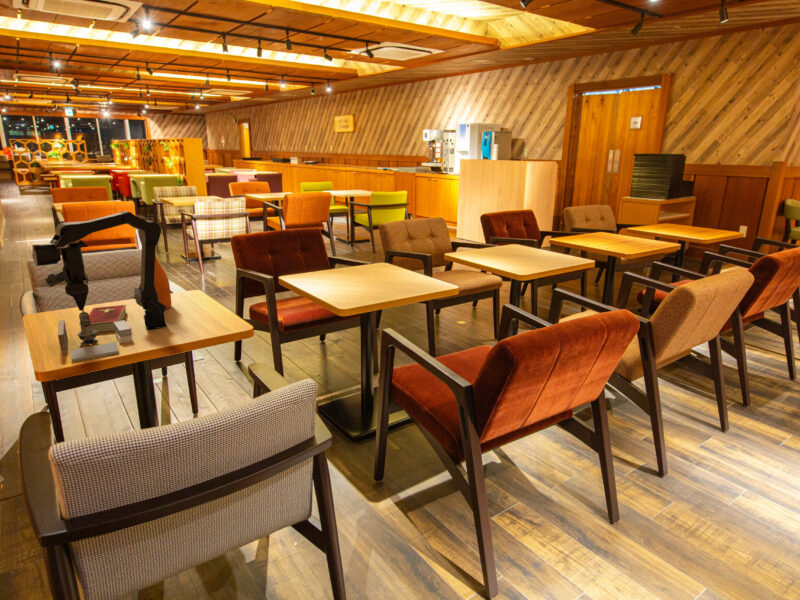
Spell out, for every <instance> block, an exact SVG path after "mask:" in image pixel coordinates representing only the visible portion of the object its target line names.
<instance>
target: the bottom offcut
mask: <svg viewBox="0 0 800 600" xmlns="http://www.w3.org/2000/svg"><path fill="white" fill-rule="evenodd" d="M115 331H116V330H115ZM116 335H117V340H118V343H119V344H124V342H125V343H129V342H133V338H132V336H133V335H129V336H124V337H120V336H119V334H118V333H117V331H116Z"/></svg>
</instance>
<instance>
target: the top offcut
mask: <svg viewBox="0 0 800 600" xmlns="http://www.w3.org/2000/svg"><path fill="white" fill-rule="evenodd" d="M113 323H114V329H115V330H114V331H117V332H116V334H117V333H118V334H119V336H120V337H124V336H129V335H131V336H133V333H132V332H133V331H132V328H131V326H130V325H129V324H128V323H127V321H126V320H125V319H124V320H123V321H118V322H113Z"/></svg>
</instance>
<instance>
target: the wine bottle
mask: <svg viewBox="0 0 800 600" xmlns="http://www.w3.org/2000/svg"><path fill="white" fill-rule="evenodd" d="M154 285H155V288H156V291H157V295H158V302H160V303H162V304H163V305H165V306H166V309H165V310H167V308H168V309H170V308H171V307H172V296H171V295H172V294H171V287H170V281H169V278H168V275H167V273H166V272H165V270H164V268H163V267H162V266H161V264H160V262H159V259H158V257H157V254H156V253H155V280H154Z"/></svg>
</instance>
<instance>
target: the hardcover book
mask: <svg viewBox="0 0 800 600" xmlns="http://www.w3.org/2000/svg"><path fill="white" fill-rule="evenodd" d="M126 307H127V304H119V305H110V306H109V305H107V306H98V307H93V308H92V309H91V310H90V312H89V313H88V314H89V319H90V321H91V327H92V329H93V330H96V331H97V333H100V332H99V331H103V332H110V330H112V331H116V330H115V329H114V323H113V322H118V321H123V320H125V318H126V315H127V310H126Z"/></svg>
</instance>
